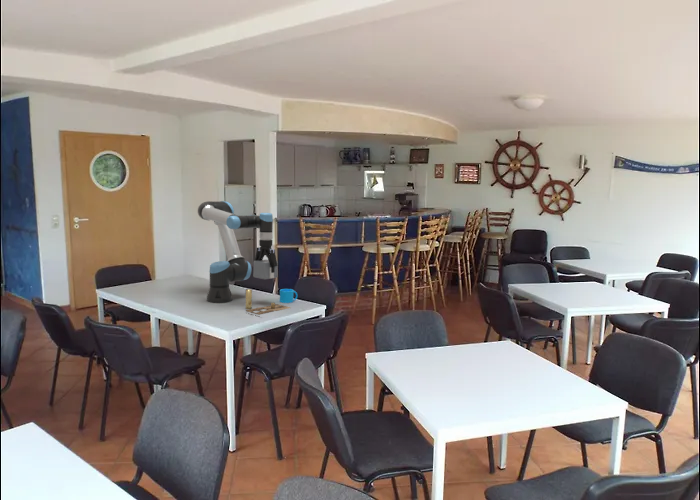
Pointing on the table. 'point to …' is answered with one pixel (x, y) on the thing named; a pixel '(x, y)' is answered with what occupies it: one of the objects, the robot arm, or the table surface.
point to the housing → (263, 269)
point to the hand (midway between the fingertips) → (265, 276)
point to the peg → (248, 299)
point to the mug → (287, 295)
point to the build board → (259, 310)
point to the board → (276, 307)
